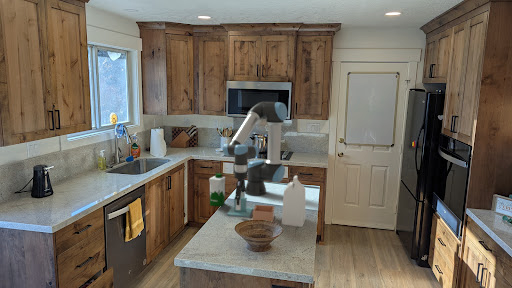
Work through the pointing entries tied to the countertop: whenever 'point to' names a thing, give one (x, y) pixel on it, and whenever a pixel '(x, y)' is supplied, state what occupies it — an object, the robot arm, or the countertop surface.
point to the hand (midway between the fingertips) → (240, 206)
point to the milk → (294, 204)
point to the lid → (244, 210)
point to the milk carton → (217, 190)
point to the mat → (239, 216)
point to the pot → (263, 212)
